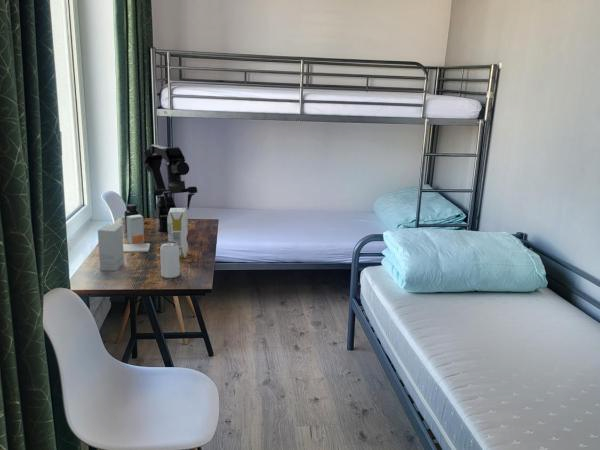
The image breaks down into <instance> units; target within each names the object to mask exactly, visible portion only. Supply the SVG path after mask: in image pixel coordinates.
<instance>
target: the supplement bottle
mask: <svg viewBox="0 0 600 450" xmlns="http://www.w3.org/2000/svg"><path fill="white" fill-rule="evenodd" d="M125 206H126V207H125V208H126V210H125V211H124V228H125V231H126V232H127V219H126V216H132V215H141V213H140V210H138V204H137V203H129V204H126V205H125Z"/></svg>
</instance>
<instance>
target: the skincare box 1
mask: <svg viewBox="0 0 600 450" xmlns="http://www.w3.org/2000/svg"><path fill="white" fill-rule="evenodd" d="M123 235H124V234H123V224H109V223H107V224H105V225H103V226H101V227H100V228H99V229H97V238H98V256H99V259H98V260H99V270H100V271H103V272H104V271H106V272H107V271H109V272H117V271H118V270H120V268H122V266H124V264H125V254H124V253H125V252H123V244H124V236H123Z"/></svg>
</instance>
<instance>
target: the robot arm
mask: <svg viewBox="0 0 600 450" xmlns="http://www.w3.org/2000/svg"><path fill="white" fill-rule="evenodd" d="M163 159H164V160H165V162H166V163H165V166H166V171H167V172H166V173H167V183H168V184H167V189H166V186H165V181H164V179H163V175H162V172H161V171H162V170H161V168H162V167H161V166H162V161H163ZM141 162H142V165H143V166H144V168H145V170H147V172H148V173H150V176H151V177H150V178H151V180H152V184H153V187H154V190H153V196H154V197H157V202H156V208H155V209H154V212H153V214H154V218H155V219H157V220H158V225H159V226H158V228H157V229H158V232H168V224H167V217H168V213H169V211H170V208H177V206H176V204H175V201H174V198H173V196H169V194H181V193H187V202H186V203H187V204H186V205H187V208H186V209H187V210H189V209H190V204H191V200H192V197H193V196H195V194H197V193H198V188H197V186H196V185H195V186H188V187H187V188H186V183H185V182H186V181H185V180H182V176H185V175H186V176H187V174H188V173H189V171H190V165H189V164H188V163H187V162H186V157H185V156H184V153H183V152H182V149H181V148H180V147H178V146H171V147H169V146H164V145H161V144H151V145H149V148H147V150H145V151H144V152H143V155H142V157H141Z"/></svg>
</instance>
